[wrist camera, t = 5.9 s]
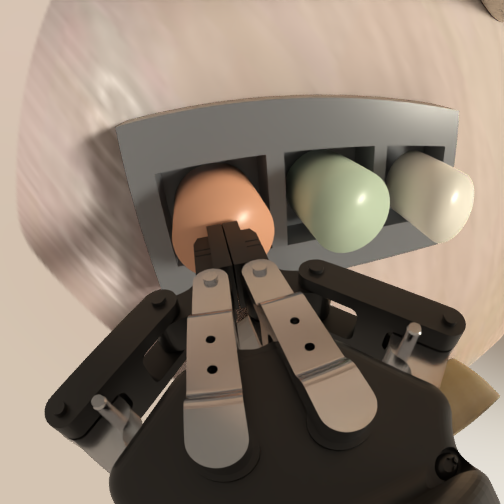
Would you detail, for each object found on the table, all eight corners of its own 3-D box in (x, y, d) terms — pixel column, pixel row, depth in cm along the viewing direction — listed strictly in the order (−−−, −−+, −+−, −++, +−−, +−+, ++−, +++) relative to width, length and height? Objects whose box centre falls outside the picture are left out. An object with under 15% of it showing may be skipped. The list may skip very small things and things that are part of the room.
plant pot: (471, 336, 45) (509, 387, 32) (459, 364, 54) (488, 408, 41) (419, 374, 46) (455, 433, 33) (414, 396, 55) (441, 444, 42)
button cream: (388, 150, 16) (434, 173, 13) (436, 150, 17) (479, 171, 13) (381, 217, 19) (419, 249, 16) (427, 209, 20) (464, 236, 16)
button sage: (282, 152, 17) (311, 174, 13) (353, 146, 17) (394, 166, 14) (285, 223, 19) (310, 260, 16) (349, 213, 20) (383, 244, 16)
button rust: (167, 171, 16) (161, 199, 12) (250, 156, 16) (271, 179, 13) (183, 243, 19) (184, 286, 15) (257, 229, 19) (276, 268, 15)
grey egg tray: (127, 120, 15) (115, 126, 12) (433, 103, 17) (459, 110, 15) (168, 279, 21) (167, 305, 19) (418, 228, 24) (437, 243, 22)
